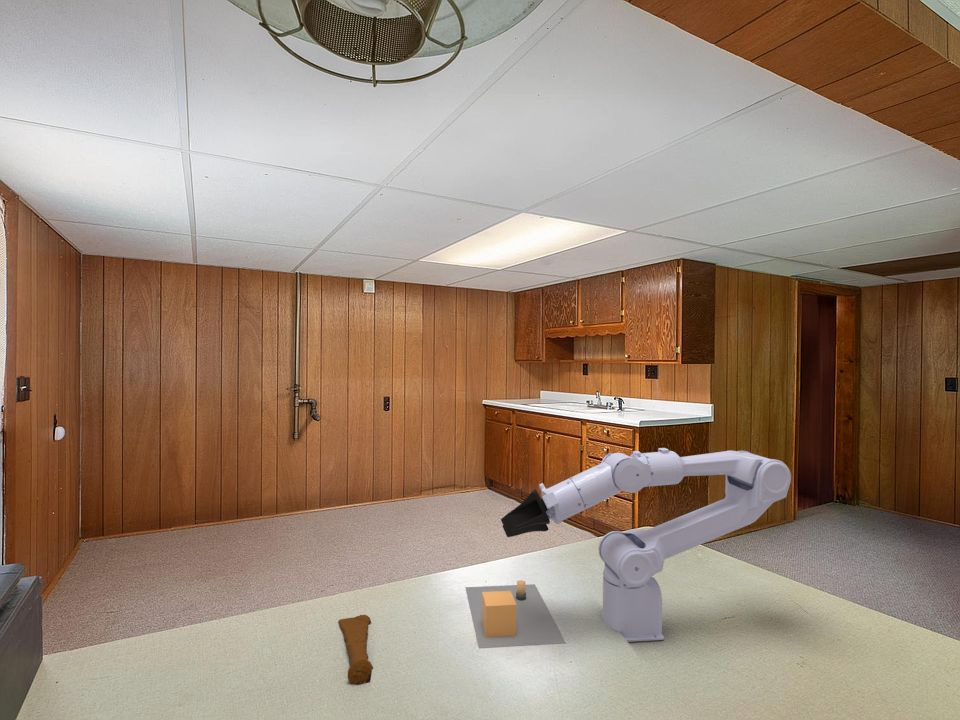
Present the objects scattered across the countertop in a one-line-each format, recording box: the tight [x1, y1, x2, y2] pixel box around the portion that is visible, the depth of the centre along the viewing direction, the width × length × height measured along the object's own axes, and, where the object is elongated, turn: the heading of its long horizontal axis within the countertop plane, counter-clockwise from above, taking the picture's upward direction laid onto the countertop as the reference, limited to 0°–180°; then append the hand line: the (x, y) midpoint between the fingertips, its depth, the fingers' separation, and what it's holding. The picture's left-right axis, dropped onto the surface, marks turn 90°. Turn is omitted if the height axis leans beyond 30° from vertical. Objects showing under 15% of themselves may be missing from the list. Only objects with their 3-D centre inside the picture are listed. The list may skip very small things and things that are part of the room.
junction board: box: [465, 579, 567, 649], centre depth 90 cm, size 14×21×4 cm, turn 7°
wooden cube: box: [482, 591, 516, 637], centre depth 85 cm, size 5×5×5 cm
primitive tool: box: [337, 614, 374, 685], centre depth 81 cm, size 19×6×4 cm, turn 20°
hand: (504, 528), depth 85 cm, fingers open, 7 cm apart
